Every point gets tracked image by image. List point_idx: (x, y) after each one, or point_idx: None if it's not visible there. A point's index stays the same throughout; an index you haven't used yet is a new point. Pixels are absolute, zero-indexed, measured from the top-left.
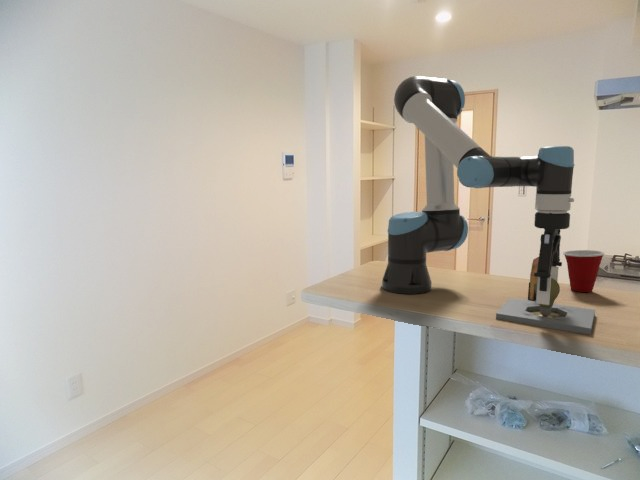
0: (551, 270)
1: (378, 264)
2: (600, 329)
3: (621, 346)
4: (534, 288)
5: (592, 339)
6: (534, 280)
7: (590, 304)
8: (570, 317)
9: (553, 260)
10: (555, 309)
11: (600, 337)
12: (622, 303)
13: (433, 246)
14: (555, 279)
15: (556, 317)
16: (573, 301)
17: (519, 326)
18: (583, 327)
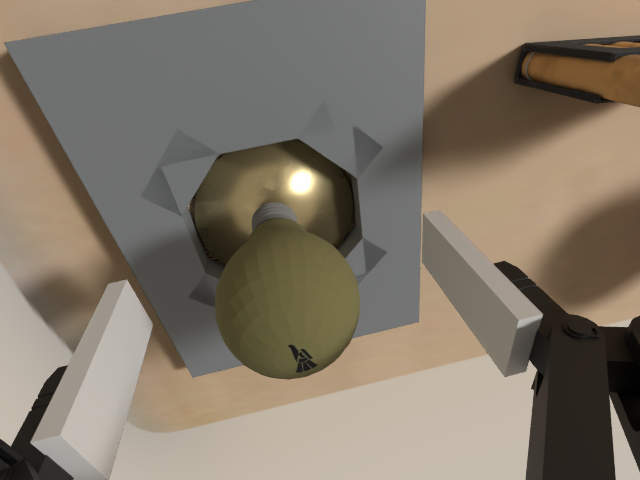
0: (491, 324)
1: None
2: None
3: (169, 416)
4: (255, 246)
5: (159, 373)
6: (618, 97)
7: (543, 260)
8: None
9: (535, 410)
10: (360, 230)
11: (197, 376)
12: (585, 311)
13: None
14: (456, 300)
15: None
16: (566, 210)
17: (47, 185)
18: (185, 364)
